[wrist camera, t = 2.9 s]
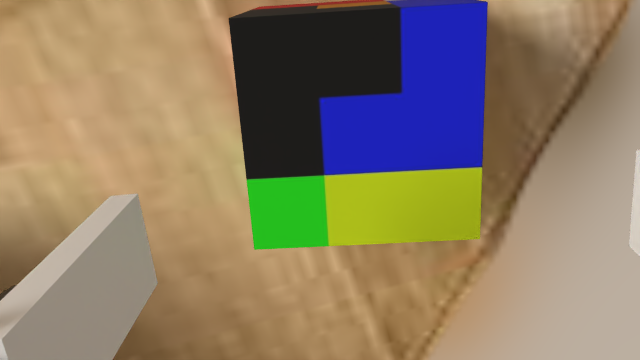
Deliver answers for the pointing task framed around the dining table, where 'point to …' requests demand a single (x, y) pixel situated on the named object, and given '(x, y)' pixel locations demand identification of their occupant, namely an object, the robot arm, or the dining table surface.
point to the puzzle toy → (362, 120)
